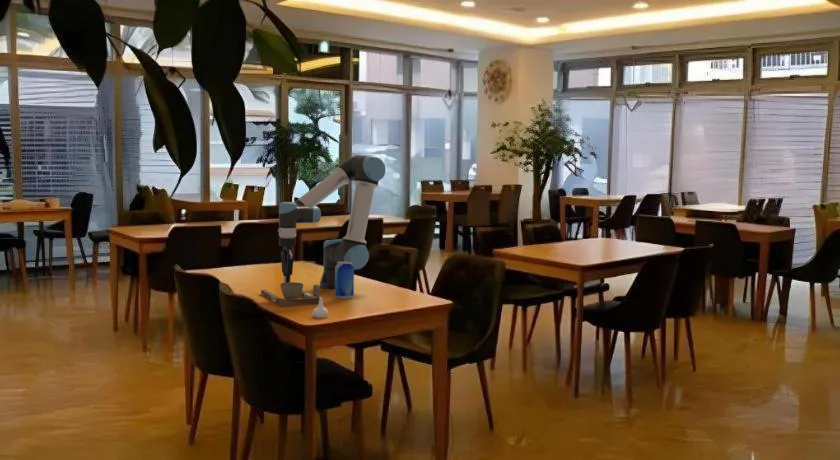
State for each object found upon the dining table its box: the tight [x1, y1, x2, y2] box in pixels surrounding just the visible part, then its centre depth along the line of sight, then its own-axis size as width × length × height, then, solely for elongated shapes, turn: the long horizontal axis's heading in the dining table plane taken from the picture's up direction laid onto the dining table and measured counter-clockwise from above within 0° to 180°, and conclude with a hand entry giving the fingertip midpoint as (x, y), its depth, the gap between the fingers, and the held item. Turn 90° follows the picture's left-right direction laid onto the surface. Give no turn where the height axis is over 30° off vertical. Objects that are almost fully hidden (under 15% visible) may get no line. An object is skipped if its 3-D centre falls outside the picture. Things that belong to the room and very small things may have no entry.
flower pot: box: [279, 281, 304, 300], centre depth 344 cm, size 10×10×7 cm
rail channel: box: [260, 284, 320, 307], centre depth 347 cm, size 32×21×6 cm, turn 27°
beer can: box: [334, 261, 355, 300], centre depth 352 cm, size 8×8×16 cm
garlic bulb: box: [311, 296, 329, 319], centre depth 310 cm, size 6×6×8 cm
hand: (286, 289), depth 349 cm, fingers closed
